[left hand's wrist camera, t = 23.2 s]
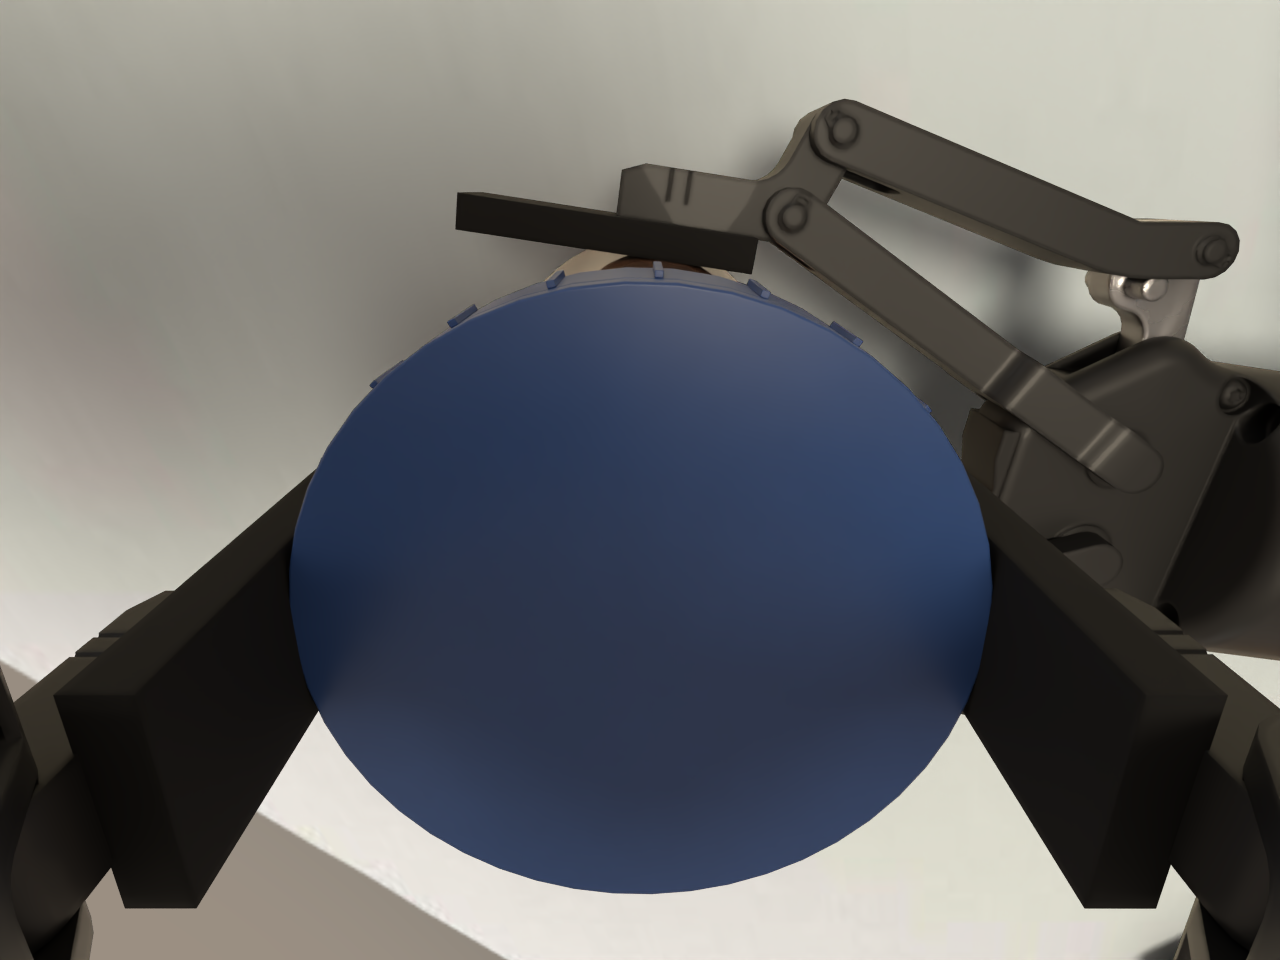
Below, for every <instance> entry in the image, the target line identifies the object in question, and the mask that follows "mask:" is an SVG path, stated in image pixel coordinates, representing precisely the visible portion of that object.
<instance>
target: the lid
mask: <svg viewBox="0 0 1280 960" xmlns="http://www.w3.org/2000/svg"><path fill="white" fill-rule="evenodd" d="M447 323H448V324H449V326H450V327H449V328H448V329H446V330H445V331H443V332H442V333H441V334H439V335H438V336H436V337H435V338H434V339H432V340H431V341H429V342H428V343H427V344H425V345H424V346H423V347H421V348H420V349H419V350H418V351H416V352H415V353H414V354H412V355H411V356H410V357H409V358H407V359H406V360H405V361H403V360H402V361H401V362H399V363H398V364H396V365H395V366H393V367H392V368H391V369H389V370H388V371H386V372H385V373H384V374H382V375H381V376H379V377H378V378H377V379H375V380H374V381H373V382H372V383H371V384H370V387H372V388H373V389H372V391H371V392H370V393H369V394H368V395H367V396H366V397H365V398H364V399H363V400H362V401H361V402H360V403H359V404H358V405H357V406H356V407H355V408H354V409H353V411H352V412H351V414H350V415H349V417H348V418H347V419H346V421H345V422H344V424H343V425H342V427H341V428H340V430H339V431H338V432H337V434H336V435H335V437H334V438H333V440H332V441H331V442H330V444H329V445H328V447H327V449H326V451H325V453H324V455H323V457H322V458H321V460H320V462H319V465H318V467H317V469H316V471H315V473H314V475H313V477H312V479H311V481H310V483H309V485H308V488H307V491H306V494H305V497H304V501H303V504H302V507H301V510H300V514H299V517H298V520H297V523H296V527H295V532H294V539H293V546H292V553H291V559H290V566H289V601H290V608H291V614H292V619H293V625H294V630H295V635H296V640H297V646H298V651H299V656H300V661H301V665H302V670H303V674H304V678H305V681H306V684H307V687H308V689H309V692H310V694H311V696H312V698H313V700H314V702H315V704H316V706H317V708H318V710H319V712H320V715H321V717H322V719H323V721H324V723H325V724H326V726H327V727H328V729H329V731H330V732H331V734H332V735H333V737H334V738H335V740H336V741H337V743H338V744H339V746H340V747H341V749H342V750H343V752H344V754H345V755H346V756H347V757H348V759H349V760H350V761H351V762H352V763H353V764H354V766H355V767H356V768H357V769H358V770H359V772H360V773H361V774H362V775H363V776H364V777H365V779H366V780H367V781H368V782H369V783H370V784H371V785H372V786H373V787H374V788H375V789H376V790H377V791H378V792H379V793H380V794H381V795H382V796H384V797H385V798H386V799H387V800H388V801H389V802H390V803H391V804H392V805H393V806H394V807H395V808H397V809H398V810H399V811H400V812H401V813H403V814H404V815H405V816H407V817H408V818H410V819H411V820H412V821H414V822H415V823H416V824H418V825H419V826H421V827H422V828H423V829H425V830H426V831H427V832H429V833H430V834H432V835H434V836H435V837H437V838H439V839H441V840H442V841H444V842H446V843H448V844H449V845H451V846H453V847H455V848H456V849H458V850H460V851H462V852H463V853H465V854H468V855H470V856H472V857H474V858H477V859H479V860H481V861H484V862H486V863H488V864H490V865H493V866H495V867H497V868H499V869H502V870H506V871H509V872H512V873H515V874H518V875H521V876H524V877H527V878H530V879H533V880H536V881H541V882H546V883H550V884H555V885H559V886H564V887H569V888H573V889H581V890H589V891H598V892H606V893H625V894H659V893H672V892H685V891H694V890H700V889H706V888H711V887H717V886H723V885H728V884H732V883H736V882H739V881H743V880H747V879H750V878H754V877H757V876H761V875H765V874H768V873H770V872H773V871H775V870H778V869H780V868H783V867H786V866H788V865H791V864H793V863H796V862H798V861H801V860H803V859H805V858H807V857H809V856H811V855H813V854H815V853H817V852H819V851H821V850H823V849H825V848H827V847H829V846H830V845H832V844H834V843H836V842H838V841H839V840H841V839H843V838H844V837H846V836H847V835H849V834H850V833H852V832H853V831H855V830H856V829H858V828H859V827H861V826H862V825H864V824H865V823H867V822H868V821H870V820H871V819H872V818H873V817H874V816H876V815H877V814H878V813H879V812H880V811H882V810H883V809H884V808H885V807H886V806H888V805H889V804H890V803H891V802H892V801H894V800H895V799H896V798H897V797H898V796H899V795H900V794H901V793H902V792H903V791H904V790H905V789H906V788H907V787H908V786H909V785H910V784H911V783H912V782H913V781H914V780H915V778H916V777H917V776H918V775H919V774H920V773H921V772H922V771H923V770H924V769H925V768H926V767H927V765H928V764H929V762H930V761H931V760H932V758H933V757H934V756H935V754H936V753H937V752H938V750H939V749H940V747H941V746H942V745H943V743H944V742H945V741H946V739H947V738H948V736H949V735H950V733H951V731H952V729H953V727H954V725H955V724H956V722H957V720H958V718H959V716H960V715H961V713H962V711H963V709H964V707H965V705H966V704H967V701H968V699H969V696H970V694H971V691H972V688H973V686H974V683H975V680H976V678H977V675H978V671H979V666H980V661H981V656H982V651H983V646H984V641H985V636H986V631H987V625H988V620H989V614H990V608H991V602H992V588H993V585H992V573H991V561H990V548H989V542H988V538H987V534H986V529H985V525H984V521H983V517H982V513H981V509H980V504H979V502H978V499H977V497H976V494H975V492H974V490H973V487H972V485H971V482H970V480H969V477H968V475H967V473H966V470H965V468H964V465H963V463H962V461H961V460H960V458H959V457H958V455H957V453H956V452H955V450H954V448H953V447H952V445H951V443H950V442H949V440H948V438H947V437H946V435H945V433H944V432H943V430H942V429H941V427H940V425H939V424H938V423H937V422H936V420H935V419H934V418H933V417H932V416H931V414H930V412H932V410H931V409H930V407H929V406H928V405H927V404H925V403H924V402H923V401H921V400H920V399H919V398H917V397H916V396H915V395H914V394H913V393H912V392H911V391H910V389H909V388H908V387H906V386H905V385H904V384H903V383H902V382H901V381H900V380H899V379H897V378H896V377H895V376H894V375H893V374H892V373H891V372H889V371H888V370H887V369H886V368H885V367H884V366H883V365H882V364H880V363H879V362H878V361H877V360H876V359H875V358H874V357H873V356H871V355H870V354H868V353H867V352H865V351H864V350H863V349H861V348H860V347H859V346H860V345H861V344H862V343H863V341H862V340H861V339H859V338H858V337H857V336H855V335H854V334H852V333H851V332H849V331H848V330H846V329H845V328H843V327H842V326H840V325H839V324H837V323H836V322H834V321H833V322H832V324H831V325H830V326H828V325H827V324H825V323H824V322H822V321H821V320H819V319H817V318H816V317H814V316H813V315H811V314H810V313H808V312H807V311H805V310H804V309H802V308H800V307H798V306H796V305H794V304H792V303H789V302H787V301H785V300H783V299H781V298H779V297H777V296H775V295H772V294H771V292H770V291H768V290H767V289H766V288H765V287H763V286H762V285H761V284H759V283H758V282H757V281H755V280H752V279H749V281H748V284H747V285H746V284H742V283H739V282H736V281H733V280H729V279H726V278H723V277H720V276H715V275H709V274H703V273H697V272H691V271H685V270H679V269H670V268H663V266H662V263H661V262H660V261H654V262H653V268H634V267H625V268H616V269H606V270H597V271H588V272H580V273H576V274H572V275H568V276H565V273H564V270H560V271H556V272H555V273H554V274H553V275H552V276H551V277H550V278H549V279H548V280H547V281H544V282H540V283H536V284H534V285H531V286H529V287H526V288H524V289H521V290H519V291H516V292H514V293H511V294H509V295H506V296H504V297H501V298H499V299H496V300H494V301H492V302H491V303H489V304H487V305H485V306H484V307H482V308H480V309H479V310H478V309H477V308H476V306H475V304H473V305H472V306H470V307H468V308H467V309H465V310H464V311H462V312H461V313H459V314H458V315H456V316H455V317H453V318H452V319H450V320H449V321H448V322H447Z"/></svg>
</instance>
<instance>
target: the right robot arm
mask: <svg viewBox="0 0 1280 960" xmlns="http://www.w3.org/2000/svg"><path fill="white" fill-rule="evenodd" d="M841 179H844V180H847V181H849V182H851V183H854V184H856V185H859V186H861V187H864V188H866V189H869V190H871V191H873V192H876V193H878V194H881V195H883V196H886V197H888V198H891V199H893V200H895V201H898V202H900V203H903V204H905V205H908V206H910V207H913V208H915V209H917V210H920V211H922V212H925V213H927V214H930V215H932V216H935V217H937V218H939V219H942V220H944V221H947V222H949V223H952V224H954V225H957V226H959V227H961V228H964V229H966V230H969V231H971V232H974V233H976V234H979V235H981V236H983V237H986V238H988V239H991V240H993V241H996V242H998V243H1001V244H1003V245H1006V246H1008V247H1010V248H1013V249H1015V250H1018V251H1020V252H1023V253H1025V254H1028V255H1030V256H1032V257H1035V258H1037V259H1040V260H1043V261H1046V262H1049V263H1052V264H1055V265H1061V266H1066V267H1071V268H1076V269H1082V270H1087V271H1088V272H1087V274H1086V276H1085V283H1086V285H1087V287H1088V289H1089V293H1090V295H1091V297H1092V298H1093V300H1095V301H1096V302H1097V303H1099V304H1102V305H1105V306H1109V307H1112V308H1113V309H1114V310H1116V311H1117V313H1118V314H1119V316H1120V318H1121V323H1122V326H1121V331H1120V332H1117V333H1115V334H1112V335H1110V336H1108V337H1106V338H1104V339H1102V340H1100V341H1097V342H1095V343H1093V344H1091V345H1089V346H1087V347H1085V348H1083V349H1080V350H1078V351H1076V352H1074V353H1072V354H1070V355H1068V356H1065V357H1063V358H1061V359H1059V360H1057V361H1055V362H1053V363H1051V364H1048V365H1046V366H1043V365H1042V364H1040V363H1039V362H1037V361H1036V360H1034V359H1032V358H1031V357H1029V356H1027V355H1026V354H1024V353H1023V352H1021V351H1020V350H1018V349H1017V348H1015V347H1014V346H1013V345H1011V344H1010V343H1009V342H1007V341H1006V340H1005V339H1003V338H1002V337H1001V336H1000V335H998V334H997V333H996V332H994V331H993V330H992V329H990V328H989V327H988V326H986V325H985V324H984V323H982V322H981V321H980V320H978V319H977V318H976V317H974V316H973V315H972V314H971V313H969V312H968V311H967V310H965V309H964V308H963V307H961V306H960V305H959V304H957V303H956V302H955V301H953V300H952V299H951V298H949V297H948V296H947V295H946V294H944V293H943V292H942V291H940V290H939V289H938V288H936V287H935V286H934V285H932V284H931V283H930V282H928V281H927V280H926V279H924V278H923V277H922V276H920V275H919V274H918V273H917V272H915V271H914V270H913V269H911V268H910V267H909V266H907V265H906V264H905V263H903V262H902V261H901V260H899V259H898V258H897V257H895V256H894V255H893V254H891V253H890V252H889V251H888V250H886V249H885V248H884V247H882V246H881V245H880V244H878V243H877V242H876V241H874V240H873V239H872V238H870V237H869V236H868V235H866V234H865V233H864V232H863V231H861V230H860V229H859V228H857V227H856V226H855V225H853V224H852V223H851V222H849V221H848V220H847V219H845V218H844V217H843V216H841V215H840V214H839V213H837V212H836V211H835V210H834V209H832V208H831V207H830V206H828V205H827V203H828V201H829V199H830V198H831V196H832V194H833V193H834V191H835V189H836V188H837V186H838V184H839V182H840V181H841ZM455 229H456V230H463V231H470V232H476V233H483V234H489V235H496V236H502V237H509V238H516V239H522V240H529V241H535V242H542V243H549V244H555V245H562V246H568V247H575V248H582V249H588V250H595V251H601V252H608V253H614V254H621V255H628V256H634V257H641V258H647V259H654V260H661V261H667V262H674V263H680V264H687V265H694V266H700V267H707V268H713V269H720V270H726V271H733V272H740V273H746V274H752V270H753V265H754V260H755V254H756V249H757V244H758V240H762V241H769V242H770V243H772V244H773V245H774V246H776V247H777V248H778V249H780V250H781V251H783V252H784V253H785V254H787V255H788V256H789V257H791V258H792V259H793V260H795V261H796V262H798V263H799V264H800V265H802V266H803V267H804V268H806V269H807V270H808V271H810V272H811V273H813V274H814V275H815V276H817V277H818V278H819V279H821V280H822V281H824V282H825V283H826V284H828V285H829V286H830V287H832V288H833V289H834V290H836V291H837V292H839V293H840V294H841V295H843V296H844V297H845V298H847V299H848V300H849V301H851V302H852V303H854V304H855V305H856V306H858V307H859V308H860V309H862V310H863V311H864V312H866V313H867V314H869V315H870V316H871V317H873V318H874V319H875V320H877V321H878V322H880V323H881V324H882V325H884V326H885V327H886V328H888V329H889V330H890V331H892V332H893V333H895V334H896V335H897V336H899V337H900V338H901V339H903V340H904V341H905V342H907V343H908V344H910V345H911V346H912V347H914V348H915V349H916V350H918V351H919V352H921V353H922V354H923V355H925V356H926V357H927V358H929V359H930V360H931V361H933V362H934V363H936V364H937V365H938V366H940V367H941V368H942V369H944V370H945V371H946V372H947V373H948V374H949V375H951V376H952V377H953V378H955V379H956V380H957V381H959V382H960V383H961V384H963V385H964V386H966V387H967V388H968V389H970V390H971V391H972V392H974V393H975V394H977V395H978V396H979V397H981V398H982V399H983V400H985V403H984V404H983V405H982V407H981V408H980V409H974V408H971V410H970V413H969V416H968V419H967V422H966V426H965V429H964V432H963V437H962V463H963V465H964V468H965V470H966V471H968V472H969V473H970V474H971V475H972V476H973V477H975V478H976V479H977V480H978V481H979V482H980V483H982V484H983V485H984V486H985V487H986V488H987V489H989V490H990V491H991V492H992V493H993V494H994V495H996V496H997V497H998V498H999V499H1000V500H1001V501H1003V502H1004V503H1005V504H1006V505H1007V506H1008V507H1009V508H1011V509H1012V510H1013V511H1014V512H1015V513H1016V514H1018V515H1019V516H1020V517H1021V518H1022V519H1023V520H1025V521H1026V522H1027V523H1028V524H1029V525H1030V526H1032V527H1033V528H1034V529H1035V530H1036V531H1037V532H1039V533H1040V534H1041V535H1042V536H1043V537H1044V538H1046V539H1047V540H1048V541H1049V542H1050V543H1051V544H1053V545H1054V546H1055V547H1056V548H1057V549H1058V550H1060V551H1061V552H1062V553H1063V554H1064V555H1065V556H1067V557H1068V558H1069V559H1070V560H1071V561H1072V562H1074V563H1075V564H1076V565H1077V566H1078V567H1079V568H1081V569H1082V570H1083V571H1084V572H1085V573H1086V574H1088V575H1089V576H1090V577H1091V578H1092V579H1093V580H1094V581H1096V582H1097V583H1098V584H1099V585H1100V586H1101V587H1103V588H1117V589H1119V590H1121V591H1123V592H1125V593H1127V594H1129V595H1131V596H1133V597H1135V598H1137V599H1139V600H1141V601H1143V602H1145V603H1147V604H1149V605H1151V606H1153V607H1155V608H1156V609H1157V610H1159V611H1160V612H1161V613H1162V614H1164V615H1165V616H1166V617H1167V618H1168V619H1170V620H1171V621H1172V622H1173V623H1175V624H1176V625H1177V626H1178V627H1180V628H1181V629H1182V630H1183V634H1184V635H1189V636H1191V637H1192V638H1193V639H1194V640H1196V641H1197V642H1198V643H1199V644H1201V645H1202V646H1203V647H1204V648H1206V649H1207V651H1209V652H1216V653H1224V654H1232V655H1240V656H1247V657H1255V658H1263V659H1271V660H1278V661H1280V371H1274V370H1267V369H1260V368H1254V367H1247V366H1240V365H1234V364H1227V363H1220V362H1214V361H1210V360H1209V359H1207V358H1206V357H1205V356H1204V355H1203V354H1202V353H1201V352H1200V351H1199V350H1198V349H1197V348H1196V347H1195V346H1193V345H1192V344H1190V343H1189V342H1187V341H1185V340H1184V338H1185V334H1186V330H1187V326H1188V322H1189V319H1190V315H1191V311H1192V307H1193V303H1194V300H1195V296H1196V292H1197V288H1198V284H1199V280H1200V279H1209V278H1214V277H1216V276H1218V275H1220V274H1221V273H1223V272H1225V271H1226V270H1227V269H1228V268H1229V267H1230V266H1231V265H1232V263H1233V262H1234V260H1235V258H1236V256H1237V254H1238V252H1239V242H1240V240H1239V237H1238V234H1237V232H1236V230H1235V229H1233V228H1232V227H1231V226H1230V225H1229V224H1224V223H1220V222H1203V221H1185V220H1166V219H1133V218H1131V217H1128V216H1126V215H1124V214H1121V213H1119V212H1117V211H1114V210H1112V209H1110V208H1107V207H1105V206H1103V205H1100V204H1098V203H1095V202H1093V201H1091V200H1088V199H1086V198H1084V197H1081V196H1079V195H1077V194H1074V193H1072V192H1069V191H1067V190H1065V189H1062V188H1060V187H1058V186H1055V185H1053V184H1051V183H1048V182H1046V181H1044V180H1041V179H1039V178H1036V177H1034V176H1032V175H1029V174H1027V173H1025V172H1022V171H1020V170H1018V169H1015V168H1013V167H1011V166H1008V165H1006V164H1003V163H1001V162H999V161H996V160H994V159H992V158H989V157H987V156H985V155H982V154H980V153H977V152H975V151H973V150H970V149H968V148H966V147H963V146H961V145H959V144H956V143H954V142H952V141H949V140H947V139H944V138H942V137H940V136H937V135H935V134H933V133H930V132H928V131H926V130H923V129H921V128H919V127H916V126H914V125H911V124H909V123H907V122H904V121H902V120H900V119H897V118H895V117H893V116H890V115H888V114H885V113H883V112H881V111H878V110H876V109H874V108H871V107H869V106H867V105H864V104H862V103H860V102H857V101H854V100H848V99H842V100H838V101H834V102H832V103H829V104H827V105H825V106H823V107H821V108H819V109H817V110H814V111H812V112H810V113H808V114H807V115H806V116H804V117H803V118H802V119H800V121H799V122H798V124H797V125H796V127H795V129H794V133H793V138H792V139H791V141H790V143H789V145H788V146H787V148H786V150H785V152H784V154H783V155H782V157H781V159H780V161H779V162H778V164H777V165H776V167H775V168H774V169H773V170H772V171H771V172H770V173H769V174H768V175H766V176H765V177H763V178H761V179H758V180H747V179H741V178H734V177H728V176H722V175H715V174H709V173H703V172H696V171H690V170H684V169H677V168H671V167H665V166H658V165H652V164H642V165H639V166H635V167H631V168H627V169H623V170H622V174H621V182H620V190H619V197H618V205H617V213H613V212H607V211H600V210H594V209H587V208H581V207H574V206H568V205H561V204H555V203H548V202H542V201H536V200H529V199H523V198H516V197H510V196H503V195H497V194H490V193H484V192H457V210H456V228H455ZM961 714H964V713H963V711H962V713H961ZM964 715H965V714H964Z"/></svg>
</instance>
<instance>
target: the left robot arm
mask: <svg viewBox="0 0 1280 960" xmlns="http://www.w3.org/2000/svg"><path fill="white" fill-rule="evenodd" d="M315 471H316V470H314V471H313V472H312V473H311V474H310V475H309V476H307V477H306V478H305V479H304V480H303V481H302V482H300V483H299V484H298V485H297V486H296V487H295V488H293V489H292V490H291V491H290V492H289V493H288V494H287V495H285V496H284V497H283V498H282V499H281V500H280V501H278V502H277V503H276V504H275V505H274V506H273V507H271V508H270V509H269V510H268V511H267V512H266V513H264V514H263V515H262V516H261V517H260V518H259V519H257V520H256V521H255V522H254V523H253V524H252V525H250V526H249V527H248V528H247V529H246V530H245V531H243V532H242V533H241V534H240V535H239V536H238V537H236V538H235V539H234V540H233V541H232V542H231V543H229V544H228V545H227V546H226V547H225V548H224V549H223V550H221V551H220V552H219V553H218V554H217V555H216V556H214V557H213V558H212V559H211V560H210V561H209V562H207V563H206V564H205V565H204V566H203V567H202V568H200V569H199V570H198V571H197V572H196V573H195V574H193V575H192V576H191V577H190V578H189V579H188V580H186V581H185V582H184V583H183V584H182V585H181V586H179V587H178V588H177V589H176V590H175V591H164V592H162V593H160V594H158V595H156V596H154V597H152V598H150V599H148V600H146V601H144V602H142V603H140V604H138V605H136V606H134V607H132V608H130V609H128V610H126V611H125V612H124V613H123V614H122V615H120V616H119V617H118V618H117V619H115V620H114V621H113V622H112V623H110V624H109V625H108V626H107V627H106V628H104V629H103V630H102V631H101V632H99V637H98V638H92V639H91V640H90V641H88V642H87V643H86V644H85V645H84V646H82V647H81V648H80V649H79V650H77V651H76V652H75V654H76V655H75V657H69V658H68V659H66V660H65V661H64V662H63V663H62V664H60V665H59V666H58V667H57V668H55V669H54V670H53V671H52V672H51V673H49V674H48V675H47V676H46V677H44V678H43V679H42V680H41V681H40V682H38V683H37V684H36V685H35V686H33V687H32V688H31V689H30V690H29V691H27V692H26V693H25V694H24V695H22V696H21V697H20V698H19V699H17V700H16V701H15V702H14V703H13V700H12V697H11V694H10V692H9V689H8V686H7V683H6V680H5V678H4V675H3V672H2V669H1V667H0V960H89V958H90V952H91V945H92V939H93V926H92V920H91V915H90V912H89V910H88V907H87V904H86V901H85V900H86V899H87V897H88V896H89V895H90V893H91V892H92V891H93V890H94V888H95V887H96V886H97V885H98V883H99V882H100V881H101V879H102V878H103V877H104V876H105V874H106V873H107V872H108V871H109V869H110V868H112V871H113V874H114V877H115V880H116V883H117V886H118V889H119V892H120V895H121V898H122V901H123V904H124V907H125V908H197V907H198V905H199V903H200V902H201V900H202V898H203V897H204V895H205V893H206V892H207V890H208V889H209V887H210V885H211V884H212V882H213V881H214V879H215V877H216V876H217V874H218V873H219V871H220V869H221V868H222V866H223V864H224V863H225V861H226V860H227V858H228V856H229V855H230V853H231V851H232V850H233V848H234V847H235V845H236V843H237V842H238V840H239V839H240V837H241V835H242V834H243V832H244V830H245V829H246V827H247V826H248V824H249V822H250V821H251V819H252V818H253V816H254V814H255V813H256V811H257V809H258V808H259V806H260V805H261V803H262V801H263V800H264V798H265V796H266V795H267V793H268V792H269V790H270V788H271V787H272V785H273V784H274V782H275V780H276V779H277V777H278V775H279V774H280V772H281V771H282V769H283V767H284V766H285V764H286V763H287V761H288V759H289V758H290V756H291V754H292V753H293V751H294V750H295V748H296V746H297V745H298V743H299V741H300V740H301V738H302V737H303V735H304V733H305V732H306V730H307V729H308V727H309V725H310V724H311V722H312V720H313V719H314V717H315V716H316V714H317V712H318V711H319V710H318V708H317V706H316V704H315V702H314V700H313V698H312V696H311V694H310V692H309V689H308V687H307V684H306V681H305V678H304V674H303V670H302V665H301V661H300V656H299V651H298V646H297V640H296V635H295V630H294V625H293V619H292V614H291V608H290V601H289V566H290V559H291V553H292V546H293V539H294V532H295V527H296V523H297V520H298V517H299V514H300V510H301V507H302V504H303V501H304V497H305V494H306V491H307V488H308V485H309V483H310V481H311V479H312V477H313V475H314V473H315ZM966 473H967V475H968V477H969V480H970V482H971V485H972V487H973V490H974V492H975V494H976V497H977V499H978V502H979V504H980V509H981V513H982V517H983V521H984V525H985V529H986V534H987V538H988V542H989V548H990V561H991V573H992V585H993V588H992V602H991V608H990V614H989V620H988V625H987V631H986V636H985V641H984V646H983V651H982V656H981V661H980V666H979V671H978V675H977V678H976V680H975V683H974V686H973V688H972V691H971V694H970V696H969V699H968V701H967V704H966V705H965V707H964V709H963V713H964V714H965V716H966V717H967V719H968V721H969V722H970V724H971V726H972V727H973V729H974V730H975V732H976V734H977V735H978V737H979V739H980V740H981V742H982V743H983V745H984V747H985V748H986V750H987V751H988V753H989V755H990V756H991V758H992V760H993V761H994V763H995V764H996V766H997V768H998V769H999V771H1000V772H1001V774H1002V776H1003V777H1004V779H1005V781H1006V782H1007V784H1008V785H1009V787H1010V789H1011V790H1012V792H1013V794H1014V795H1015V797H1016V798H1017V800H1018V802H1019V803H1020V805H1021V806H1022V808H1023V810H1024V811H1025V813H1026V815H1027V816H1028V818H1029V819H1030V821H1031V823H1032V824H1033V826H1034V827H1035V829H1036V831H1037V832H1038V834H1039V836H1040V837H1041V839H1042V840H1043V842H1044V844H1045V845H1046V847H1047V849H1048V850H1049V852H1050V853H1051V855H1052V857H1053V858H1054V860H1055V861H1056V863H1057V865H1058V866H1059V868H1060V870H1061V871H1062V873H1063V874H1064V876H1065V878H1066V879H1067V881H1068V882H1069V884H1070V886H1071V887H1072V889H1073V891H1074V892H1075V894H1076V895H1077V897H1078V899H1079V900H1080V902H1081V904H1082V905H1083V907H1084V908H1118V909H1156V907H1157V904H1158V901H1159V898H1160V895H1161V892H1162V889H1163V886H1164V883H1165V880H1166V877H1167V874H1168V871H1169V869H1170V866H1171V865H1172V866H1173V868H1174V869H1175V870H1176V872H1177V873H1178V874H1179V875H1180V877H1181V878H1182V879H1183V880H1184V882H1185V883H1186V884H1187V886H1188V887H1189V888H1190V889H1191V891H1192V892H1193V893H1194V894H1195V896H1196V899H1195V901H1194V904H1193V907H1192V910H1191V912H1190V915H1189V918H1188V921H1187V923H1186V926H1185V929H1184V932H1183V934H1182V937H1181V940H1180V943H1179V945H1178V948H1177V951H1176V954H1175V957H1174V959H1173V960H1280V708H1278V707H1277V706H1276V705H1275V704H1273V703H1272V702H1271V701H1270V700H1268V699H1267V698H1266V697H1265V696H1264V695H1262V694H1261V693H1260V692H1259V691H1257V690H1256V689H1255V688H1254V687H1252V686H1251V685H1250V684H1249V683H1247V682H1246V681H1245V680H1244V679H1243V678H1241V677H1240V676H1239V675H1238V674H1236V673H1235V672H1234V671H1233V670H1231V669H1230V668H1229V667H1228V666H1226V665H1225V664H1224V663H1223V662H1222V661H1220V660H1219V659H1218V658H1217V657H1215V656H1214V655H1213V654H1207V652H1206V651H1207V649H1206V648H1204V647H1203V646H1202V645H1201V644H1199V643H1198V642H1197V641H1196V640H1194V639H1193V638H1192V637H1191V636H1189V635H1184V634H1183V630H1182V629H1181V628H1180V627H1178V626H1177V625H1176V624H1175V623H1173V622H1172V621H1171V620H1170V619H1168V618H1167V617H1166V616H1165V615H1164V614H1162V613H1161V612H1160V611H1159V610H1157V609H1156V608H1155V607H1153V606H1151V605H1149V604H1147V603H1145V602H1143V601H1141V600H1139V599H1137V598H1135V597H1133V596H1131V595H1129V594H1127V593H1125V592H1123V591H1121V590H1119V589H1117V588H1103V587H1101V586H1100V585H1099V584H1098V583H1097V582H1096V581H1094V580H1093V579H1092V578H1091V577H1090V576H1089V575H1088V574H1086V573H1085V572H1084V571H1083V570H1082V569H1081V568H1079V567H1078V566H1077V565H1076V564H1075V563H1074V562H1072V561H1071V560H1070V559H1069V558H1068V557H1067V556H1065V555H1064V554H1063V553H1062V552H1061V551H1060V550H1058V549H1057V548H1056V547H1055V546H1054V545H1053V544H1051V543H1050V542H1049V541H1048V540H1047V539H1046V538H1044V537H1043V536H1042V535H1041V534H1040V533H1039V532H1037V531H1036V530H1035V529H1034V528H1033V527H1032V526H1030V525H1029V524H1028V523H1027V522H1026V521H1025V520H1023V519H1022V518H1021V517H1020V516H1019V515H1018V514H1016V513H1015V512H1014V511H1013V510H1012V509H1011V508H1009V507H1008V506H1007V505H1006V504H1005V503H1004V502H1003V501H1001V500H1000V499H999V498H998V497H997V496H996V495H994V494H993V493H992V492H991V491H990V490H989V489H987V488H986V487H985V486H984V485H983V484H982V483H980V482H979V481H978V480H977V479H976V478H975V477H973V476H972V475H971V474H970V473H969V472H968V471H966Z"/></svg>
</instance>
